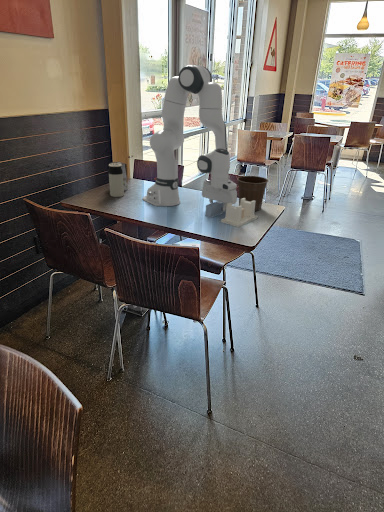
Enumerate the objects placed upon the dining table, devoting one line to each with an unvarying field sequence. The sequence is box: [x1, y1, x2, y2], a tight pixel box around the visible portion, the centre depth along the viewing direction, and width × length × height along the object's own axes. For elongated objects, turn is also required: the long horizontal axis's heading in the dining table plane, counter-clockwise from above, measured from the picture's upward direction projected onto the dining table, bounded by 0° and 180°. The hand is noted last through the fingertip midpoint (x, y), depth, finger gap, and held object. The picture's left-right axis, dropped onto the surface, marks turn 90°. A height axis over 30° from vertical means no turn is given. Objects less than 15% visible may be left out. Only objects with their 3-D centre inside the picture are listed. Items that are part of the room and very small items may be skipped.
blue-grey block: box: [205, 201, 226, 219], centre depth 180 cm, size 4×16×6 cm, turn 139°
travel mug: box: [107, 163, 125, 198], centre depth 201 cm, size 8×8×18 cm
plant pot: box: [236, 175, 269, 212], centre depth 188 cm, size 16×16×16 cm
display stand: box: [220, 198, 259, 228], centre depth 171 cm, size 10×18×9 cm, turn 139°
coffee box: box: [110, 161, 129, 191], centre depth 214 cm, size 9×6×16 cm
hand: (217, 208), depth 181 cm, fingers open, 5 cm apart
